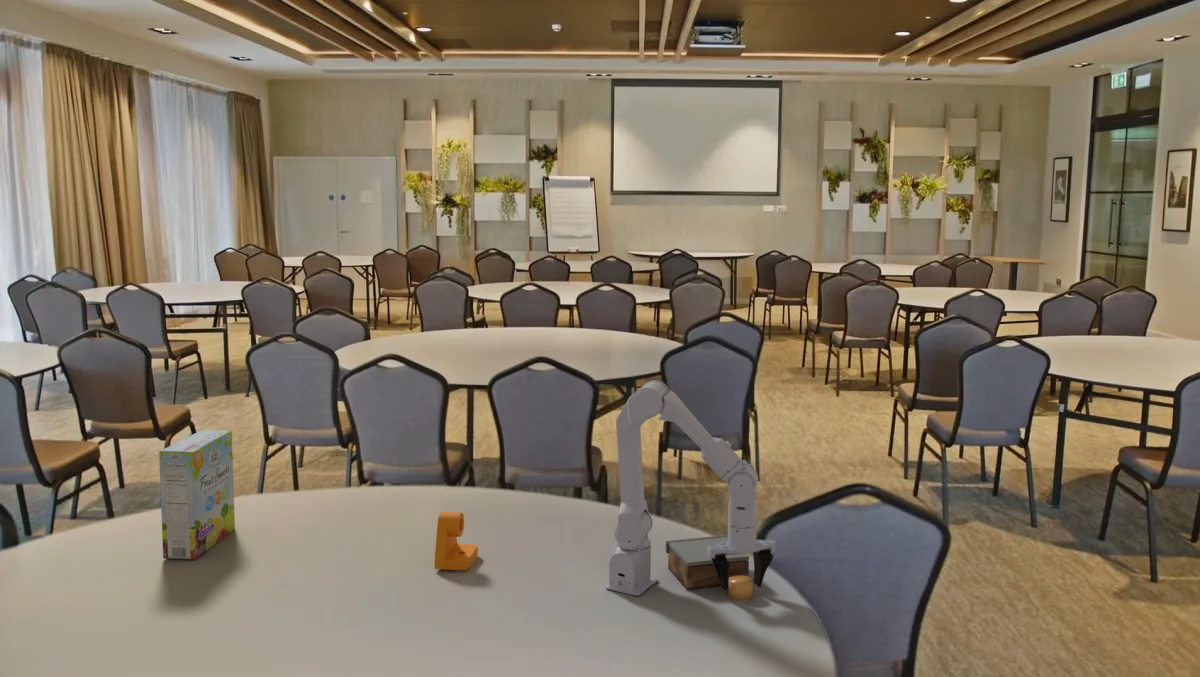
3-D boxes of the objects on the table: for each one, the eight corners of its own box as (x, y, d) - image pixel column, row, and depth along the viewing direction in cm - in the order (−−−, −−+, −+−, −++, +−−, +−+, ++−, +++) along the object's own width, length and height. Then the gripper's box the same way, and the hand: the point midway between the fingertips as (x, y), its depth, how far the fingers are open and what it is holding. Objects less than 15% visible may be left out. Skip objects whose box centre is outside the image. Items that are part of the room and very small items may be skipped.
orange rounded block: (747, 602, 187) (747, 586, 187) (724, 597, 190) (724, 581, 189) (755, 594, 192) (756, 578, 191) (733, 589, 194) (733, 573, 194)
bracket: (466, 574, 202) (465, 521, 200) (434, 572, 203) (433, 520, 201) (478, 555, 213) (477, 506, 211) (448, 554, 213) (447, 504, 212)
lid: (750, 567, 196) (750, 556, 196) (686, 574, 193) (686, 562, 192) (726, 546, 209) (726, 535, 209) (665, 552, 205) (665, 541, 205)
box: (748, 583, 197) (748, 561, 196) (687, 590, 193) (687, 567, 193) (726, 562, 208) (726, 541, 208) (668, 568, 205) (668, 547, 204)
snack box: (199, 561, 209) (192, 451, 206) (161, 560, 209) (154, 451, 206) (238, 528, 231) (233, 428, 227) (204, 528, 231) (198, 428, 227)
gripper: (766, 514, 194) (764, 575, 196) (701, 520, 190) (701, 582, 192) (780, 525, 187) (779, 588, 189) (714, 532, 184) (713, 596, 186)
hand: (740, 586), depth 190 cm, fingers open, 7 cm apart
